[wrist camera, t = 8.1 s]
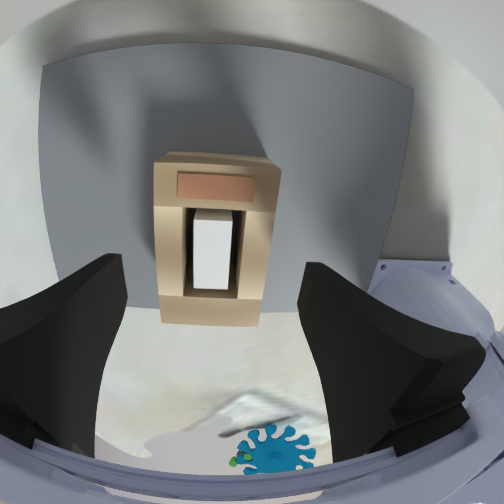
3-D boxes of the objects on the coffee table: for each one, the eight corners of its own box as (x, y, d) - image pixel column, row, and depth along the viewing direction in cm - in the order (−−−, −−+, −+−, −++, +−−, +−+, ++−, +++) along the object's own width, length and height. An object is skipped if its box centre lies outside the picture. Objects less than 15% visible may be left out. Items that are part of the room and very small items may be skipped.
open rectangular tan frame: (250, 287, 17) (257, 327, 14) (170, 283, 16) (161, 324, 13) (267, 157, 14) (282, 170, 10) (170, 151, 13) (153, 162, 10)
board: (404, 89, 13) (452, 89, 9) (355, 302, 20) (379, 341, 16) (51, 67, 10) (7, 61, 6) (70, 291, 17) (45, 331, 13)
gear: (312, 422, 26) (318, 485, 24) (311, 408, 32) (317, 465, 29) (220, 430, 28) (233, 490, 25) (232, 416, 34) (243, 471, 31)
